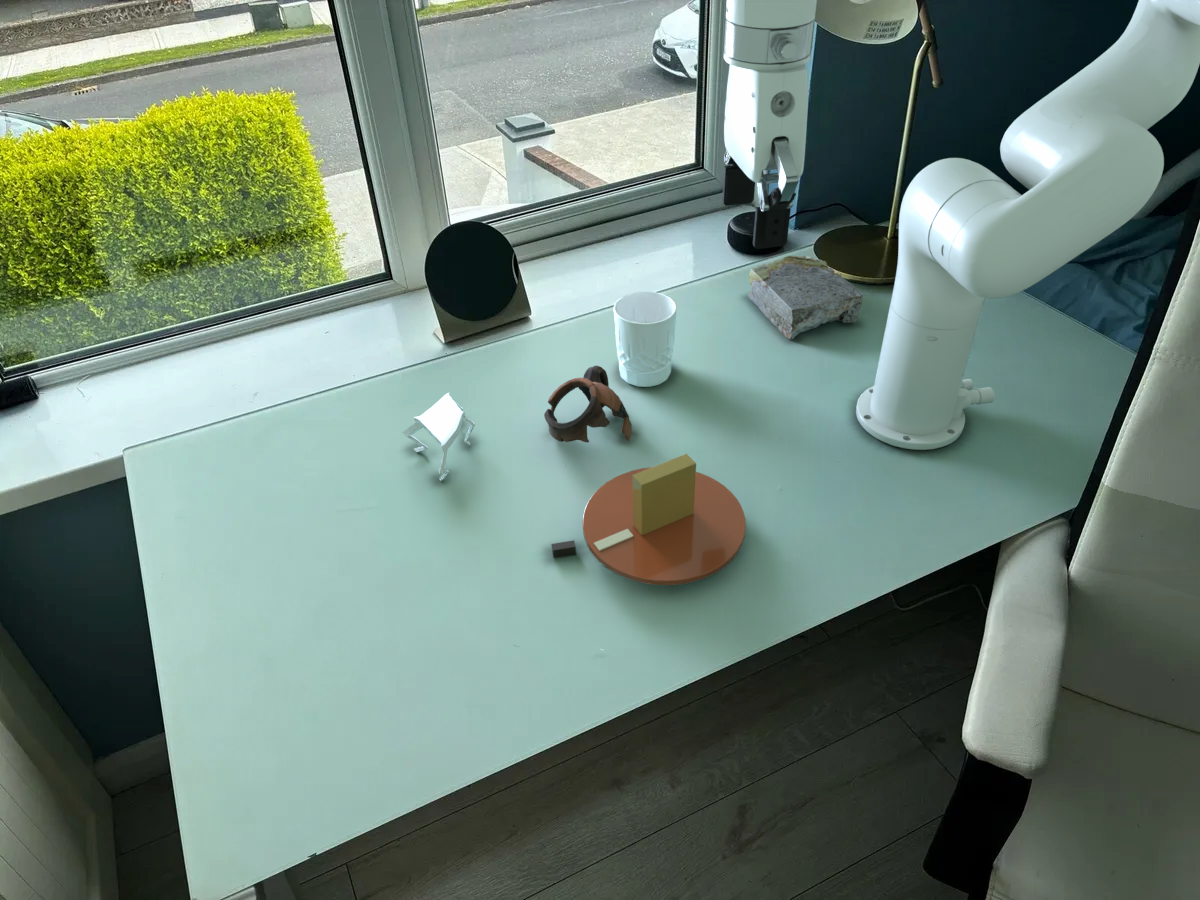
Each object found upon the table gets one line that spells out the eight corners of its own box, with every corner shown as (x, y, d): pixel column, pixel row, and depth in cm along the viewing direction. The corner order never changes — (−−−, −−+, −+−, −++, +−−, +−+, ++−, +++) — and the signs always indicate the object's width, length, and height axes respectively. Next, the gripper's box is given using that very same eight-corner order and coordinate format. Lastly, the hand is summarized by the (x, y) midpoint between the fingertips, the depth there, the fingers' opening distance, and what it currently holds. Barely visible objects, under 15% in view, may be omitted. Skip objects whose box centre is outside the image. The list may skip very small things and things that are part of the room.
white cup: (685, 366, 120) (687, 300, 113) (656, 397, 115) (656, 330, 108) (634, 350, 123) (634, 285, 117) (603, 379, 118) (601, 313, 112)
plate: (778, 544, 92) (786, 488, 87) (635, 610, 86) (634, 554, 81) (687, 452, 103) (689, 398, 98) (555, 504, 97) (550, 450, 92)
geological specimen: (796, 314, 119) (743, 259, 130) (792, 350, 124) (740, 295, 134) (866, 294, 122) (808, 242, 132) (859, 331, 126) (804, 278, 137)
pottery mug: (636, 459, 106) (602, 421, 100) (568, 478, 110) (531, 442, 105) (640, 380, 113) (607, 341, 107) (576, 401, 117) (541, 363, 112)
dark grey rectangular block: (696, 498, 100) (696, 487, 99) (722, 563, 92) (723, 552, 91) (545, 522, 98) (544, 511, 97) (560, 590, 90) (559, 579, 89)
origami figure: (401, 434, 111) (394, 402, 107) (467, 418, 113) (462, 386, 109) (420, 495, 102) (413, 462, 99) (491, 477, 104) (487, 444, 101)
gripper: (849, 66, 72) (822, 260, 83) (775, 11, 85) (761, 184, 96) (758, 75, 71) (743, 269, 82) (698, 18, 84) (692, 192, 95)
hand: (753, 223), depth 89 cm, fingers open, 9 cm apart
